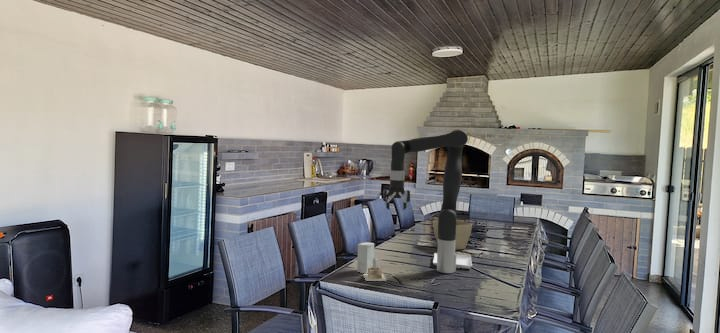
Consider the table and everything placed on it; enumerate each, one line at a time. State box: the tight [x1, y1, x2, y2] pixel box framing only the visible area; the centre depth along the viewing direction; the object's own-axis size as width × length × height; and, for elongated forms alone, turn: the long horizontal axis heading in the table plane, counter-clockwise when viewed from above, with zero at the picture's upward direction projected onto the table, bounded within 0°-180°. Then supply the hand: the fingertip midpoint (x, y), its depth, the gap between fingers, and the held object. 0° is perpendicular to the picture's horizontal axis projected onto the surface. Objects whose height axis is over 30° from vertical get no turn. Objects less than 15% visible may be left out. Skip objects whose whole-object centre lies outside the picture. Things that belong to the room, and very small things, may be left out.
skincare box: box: [356, 241, 375, 274], centre depth 226 cm, size 8×6×15 cm
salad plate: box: [432, 252, 473, 270], centre depth 245 cm, size 21×21×3 cm
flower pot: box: [432, 219, 473, 251], centre depth 284 cm, size 19×19×17 cm
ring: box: [368, 266, 383, 279], centre depth 215 cm, size 6×6×4 cm
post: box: [362, 257, 387, 282], centre depth 215 cm, size 10×10×10 cm
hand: (396, 209), depth 230 cm, fingers open, 8 cm apart
